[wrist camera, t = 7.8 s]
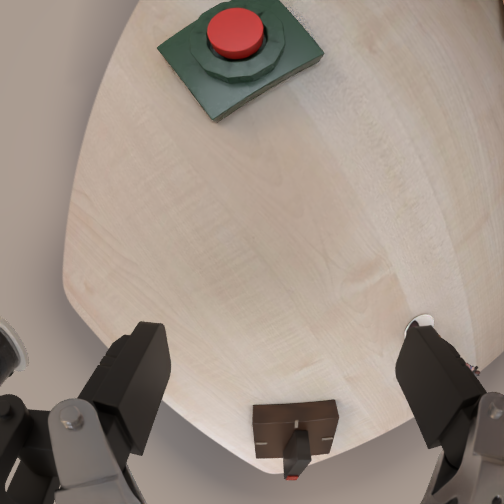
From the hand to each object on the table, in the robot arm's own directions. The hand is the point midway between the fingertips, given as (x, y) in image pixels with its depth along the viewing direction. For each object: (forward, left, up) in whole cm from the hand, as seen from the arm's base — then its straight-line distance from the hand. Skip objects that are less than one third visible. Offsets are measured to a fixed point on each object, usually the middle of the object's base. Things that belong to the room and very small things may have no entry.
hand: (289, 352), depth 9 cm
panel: (+2, -27, -16) cm, 31 cm away
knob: (+2, -27, -13) cm, 30 cm away
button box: (-2, +14, -16) cm, 22 cm away
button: (-2, +14, -13) cm, 19 cm away
